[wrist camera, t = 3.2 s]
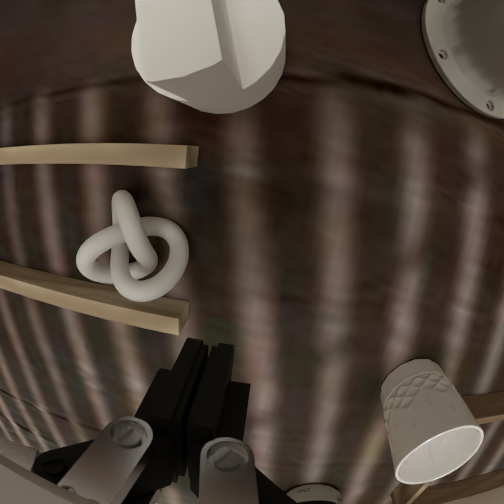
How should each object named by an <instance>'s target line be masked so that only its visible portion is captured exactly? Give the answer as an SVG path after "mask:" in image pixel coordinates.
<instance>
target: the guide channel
mask: <svg viewBox="0 0 504 504" xmlns="http://www.w3.org/2000/svg"><path fill="white" fill-rule="evenodd" d="M198 152H199V146H187V145H168V144H142V143H72V144H47V145H30V146H16V147H5V148H0V165H2V164H47V163H64V164H111V165H134V166H152V167H167V168H181V169H187V168H192V167H197V163H198ZM0 288H3V289H5V290H8V291H11V292H14V293H17V294H20V295H23V296H27V297H30V298H33V299H36V300H39V301H43V302H46V303H49V304H52V305H56V306H59V307H63V308H66V309H70V310H73V311H77V312H81V313H84V314H88V315H92V316H96V317H100V318H104V319H108V320H112V321H116V322H120V323H124V324H128V325H133V326H137V327H142V328H146V329H151V330H155V331H160V332H165V333H170V334H175V335H179V334H180V332H181V330H182V328H183V326H184V325H185V323H186V321H187V319H188V317H189V301H184V300H178V299H173V298H167V297H162V296H161V297H159V298H157V299H154V300H151V301H146V302H137V301H132V300H129V299H127V298H125V297H124V296H123V295H121V294H120V293H119V292H118V290H117V289H116V288H115V287H110V286H105V285H101V284H96V283H91V282H87V281H82V280H78V279H73V278H69V277H64V276H60V275H56V274H52V273H47V272H43V271H39V270H35V269H31V268H27V267H23V266H19V265H15V264H12V263H8V262H4V261H0Z"/></svg>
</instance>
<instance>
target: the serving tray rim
mask: <svg viewBox="0 0 504 504" xmlns="http://www.w3.org/2000/svg"><path fill="white" fill-rule="evenodd" d="M462 398H463V400H464V401H465V403H466V405H467V406H468V408H469V409H470V411H471V413H472V414H473V416H474V417H475V419H476V421H477V422H478V424H484V423H490V422H495V421H500V420H504V392H497V393H489V394H480V395H469V396H462ZM431 482H432V481H430V482H426V483H421V484H405V483H401V484H400V485H399V486H398V487H397V488H396V490H395V491H394V492H393V493H392V494H391V497H392V503H393V504H451V503H456V502H459V501H463V500H466V499H470V498H473V497H477V496H480V495H483V494H486V493H489V492H492V491H495V490H498V489H501V488H504V468H503V469H500V470H497V471H494V472H490V473H487V474H483V475H480V476H476V477H472V478H468V479H464V480H460V481H456V482H451V483H446V484H441V485H436V486H430V487H427V486H428V485H429V484H430V483H431Z"/></svg>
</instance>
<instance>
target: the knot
mask: <svg viewBox="0 0 504 504" xmlns="http://www.w3.org/2000/svg"><path fill="white" fill-rule="evenodd" d="M147 236H159V237H162V238H164V239H165V240H166V241H167V242H168V244H169V247H170V254H169V258H168V261H167V263H166V264H165V266H164V267H163V269H162V270H161V271H160V272H159V273H158V274H157V275H155V276H154V277H152V278H150V279H148V280H144V281H138V280H137V279H140V278H142V277H145V276H147V275H148V274H150V273H151V272H152V271H153V270H154V269H155V268H156V266H157V263H158V257H157V254H156V252H155V250H154V249H153V247H152V246H151V244H150V242H149V240H148V237H147ZM110 248H111V258H110V265H104V264H101V263H98V262H96V261H95V260H96V258H97V257H98V256H100V255H101V254H102V253H104V252H105V251H107V250H109V249H110ZM129 250H130V251H131V253H132V255H133V256H134V257H135V259H136V260H137V261H135V262H133V263H129ZM188 258H189V245H188V241H187V238H186V236H185V234H184V232H183V231H182V229H181V228H180V227H179V226H178V225H177V224H175V223H174V222H172V221H170V220H168V219H165V218H161V217H141V218H140V215H139V212H138V209H137V207H136V204H135V202H134V199H133V197H132V196H131V194H130V193H129V192H127V191H125V190H119V191H117V192H116V193H115V194H114V195H113V197H112V226H110V227H107V228H105V229H103V230H101V231H99V232H97V233H96V234H94V235H92V236H91V237H90V238H88V239H87V240H86V241H85V242H84V243H83V244H82V245H81V247H80V248H79V250H78V253H77V257H76V263H77V267H78V269H79V271H80V272H81V273H82V274H83V275H84V276H85V277H87V278H88V279H90V280H93V281H96V282H101V283H113V284H114V286H115V288H116V289H117V290H118V292H119V293H120V294H121V295H123V296H124V297H125V298H127V299H129V300H132V301H137V302H146V301H151V300H154V299H157V298H159V297H161V296H163V295H164V294H166V293H167V292H169V291H170V290H171V289H172V288H173V287H174V286H175V285H176V284H177V283H178V281H179V280H180V278H181V277H182V275H183V273H184V271H185V269H186V266H187V263H188Z"/></svg>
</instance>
